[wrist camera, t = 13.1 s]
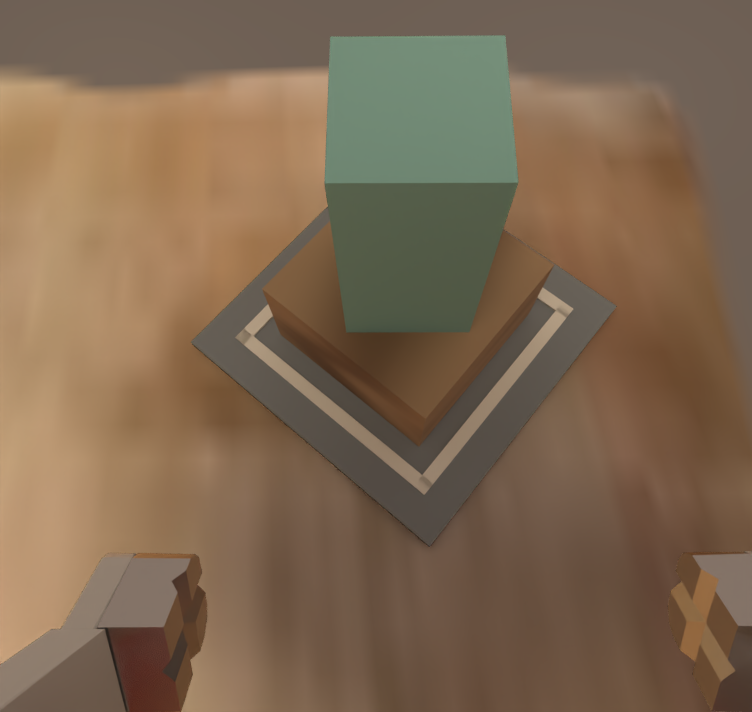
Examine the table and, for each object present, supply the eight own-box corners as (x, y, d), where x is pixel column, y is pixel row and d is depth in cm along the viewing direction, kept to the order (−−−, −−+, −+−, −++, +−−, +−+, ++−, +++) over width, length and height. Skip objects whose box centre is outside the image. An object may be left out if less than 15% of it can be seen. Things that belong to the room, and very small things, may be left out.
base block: (280, 334, 25) (262, 288, 21) (393, 217, 27) (394, 156, 23) (419, 446, 23) (425, 419, 19) (528, 313, 25) (554, 264, 21)
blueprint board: (192, 344, 25) (190, 341, 25) (385, 153, 28) (385, 147, 28) (429, 546, 22) (430, 546, 22) (614, 309, 25) (617, 305, 25)
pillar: (346, 332, 20) (324, 183, 13) (349, 226, 22) (330, 36, 14) (469, 332, 20) (518, 182, 13) (464, 225, 22) (505, 35, 14)
